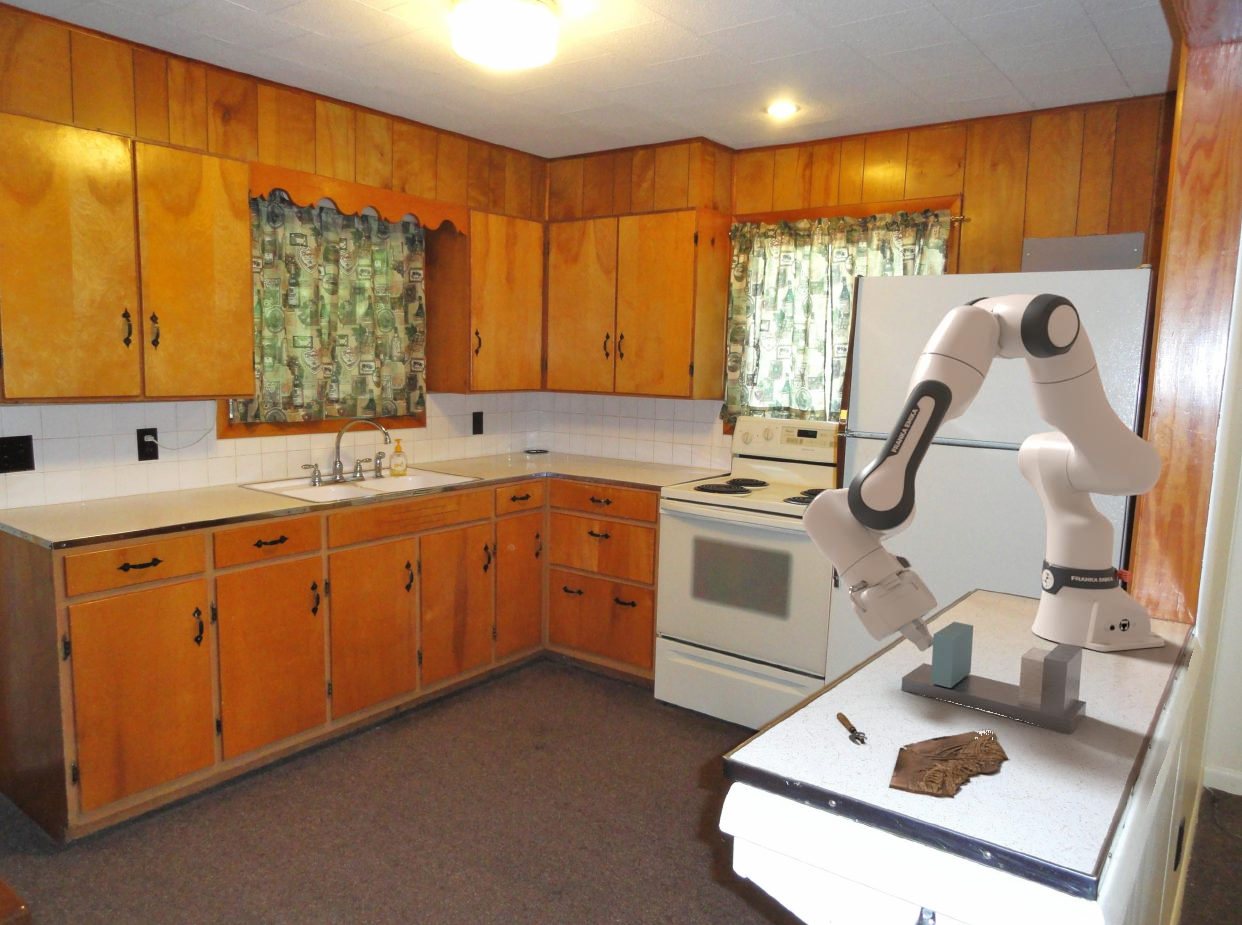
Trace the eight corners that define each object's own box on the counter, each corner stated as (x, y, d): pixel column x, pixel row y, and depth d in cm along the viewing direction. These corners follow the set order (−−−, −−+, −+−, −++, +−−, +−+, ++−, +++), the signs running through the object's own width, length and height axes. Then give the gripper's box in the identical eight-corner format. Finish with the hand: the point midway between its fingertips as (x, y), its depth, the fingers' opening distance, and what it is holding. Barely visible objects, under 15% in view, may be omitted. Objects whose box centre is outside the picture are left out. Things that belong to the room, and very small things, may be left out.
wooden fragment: (934, 810, 95) (935, 801, 95) (853, 774, 104) (853, 766, 104) (1038, 749, 112) (1039, 742, 111) (961, 722, 120) (961, 715, 120)
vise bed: (901, 689, 131) (904, 628, 130) (923, 674, 138) (926, 616, 137) (1070, 734, 116) (1075, 664, 115) (1085, 715, 122) (1090, 649, 121)
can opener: (835, 719, 120) (836, 711, 120) (852, 719, 120) (852, 711, 120) (853, 747, 111) (853, 739, 111) (870, 747, 111) (870, 739, 111)
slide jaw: (930, 683, 128) (933, 634, 127) (951, 667, 135) (954, 621, 134) (950, 688, 126) (953, 638, 125) (970, 672, 133) (973, 625, 132)
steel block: (1018, 703, 121) (1021, 656, 121) (1029, 691, 126) (1033, 646, 125) (1040, 709, 119) (1044, 661, 119) (1051, 697, 124) (1054, 651, 123)
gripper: (859, 577, 128) (918, 653, 123) (910, 556, 144) (965, 623, 138) (831, 600, 132) (888, 675, 126) (884, 577, 147) (937, 643, 142)
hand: (929, 647), depth 133 cm, fingers closed
